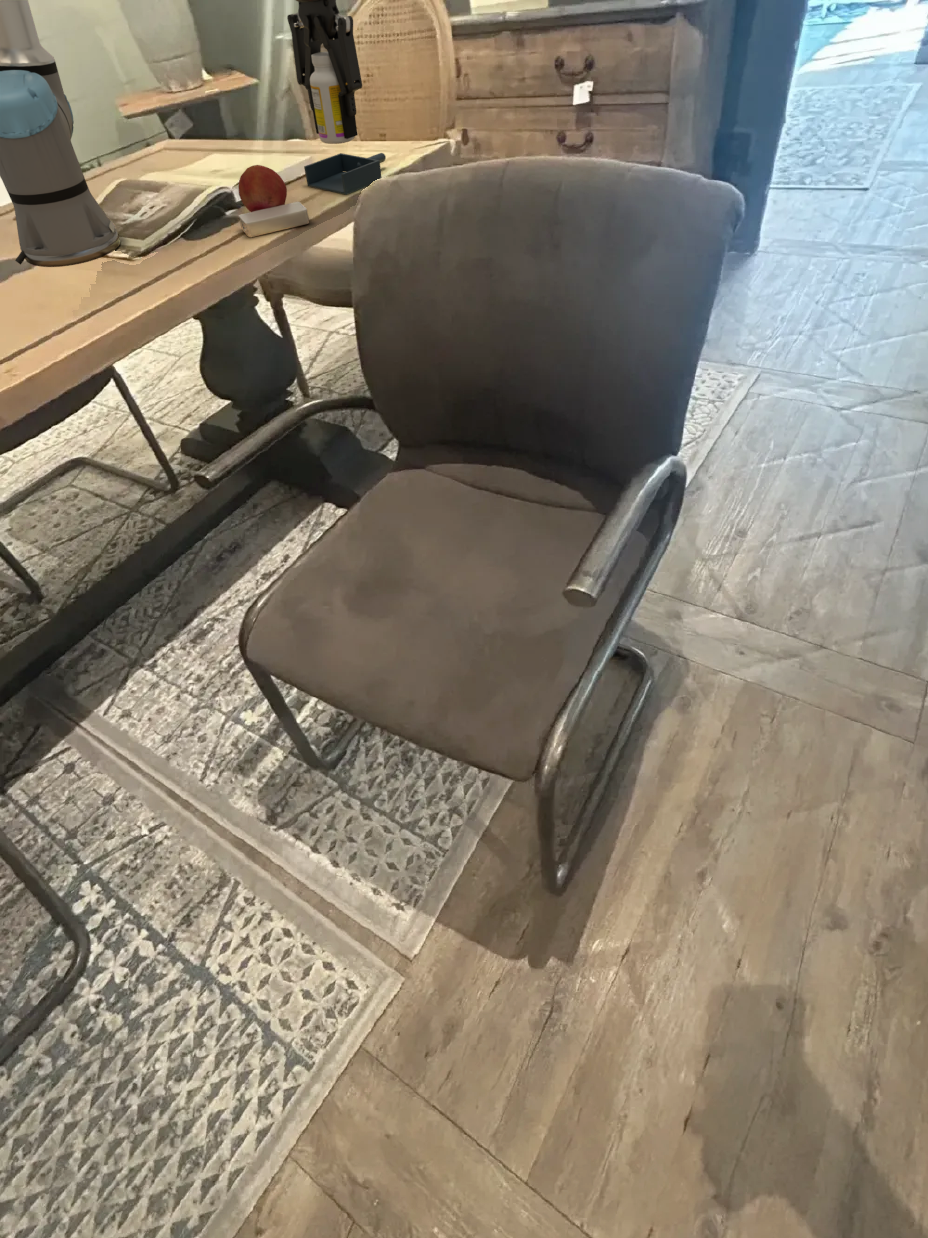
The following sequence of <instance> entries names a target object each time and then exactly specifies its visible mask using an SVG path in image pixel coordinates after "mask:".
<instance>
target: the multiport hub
mask: <svg viewBox="0 0 928 1238" xmlns="http://www.w3.org/2000/svg"><path fill="white" fill-rule="evenodd" d="M238 219H239V223H240V227H241V231H242V232H243V233H244V234H245V235H246V236H247V237H248V238H255V237H258V236H262V235H263V236H264V235H267V234H270V233H271V234H272V233H275V232H280V231H284V230H288V229H291V228H296V227H301V226H304V225H308V224H310V217H309V213H308V208H307V207H306V206H305V205H304V204H302V202H301V201H294V202H293V201H292V202H289V203H285V205H280V206H276V207H271V208H267V209H262V210H258V211H254V212H250V211H249V212H246V213H241V214H238Z"/></svg>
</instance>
